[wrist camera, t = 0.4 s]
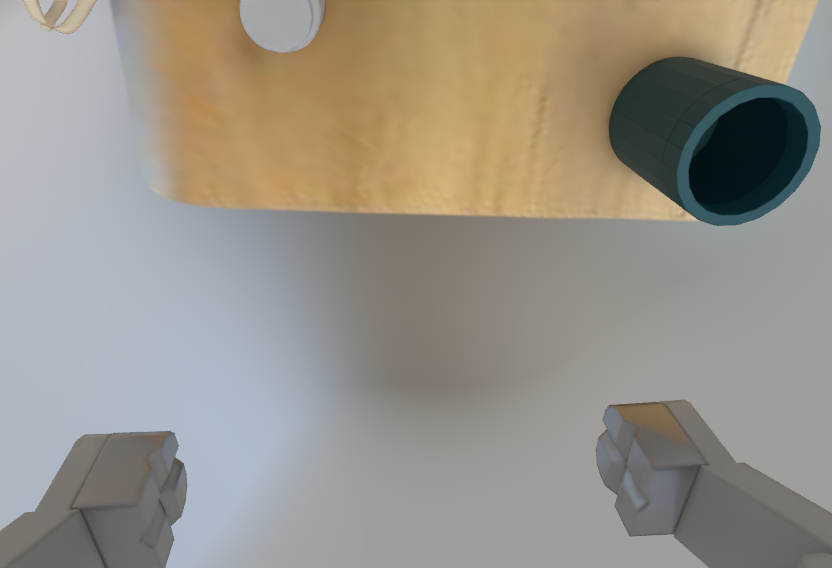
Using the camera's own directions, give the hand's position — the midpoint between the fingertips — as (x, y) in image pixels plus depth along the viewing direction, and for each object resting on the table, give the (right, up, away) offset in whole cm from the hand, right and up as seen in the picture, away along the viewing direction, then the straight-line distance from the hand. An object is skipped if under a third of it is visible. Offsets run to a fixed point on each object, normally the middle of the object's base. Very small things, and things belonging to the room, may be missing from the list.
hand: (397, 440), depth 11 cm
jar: (+20, +16, +34) cm, 43 cm away
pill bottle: (-8, +22, +28) cm, 37 cm away
